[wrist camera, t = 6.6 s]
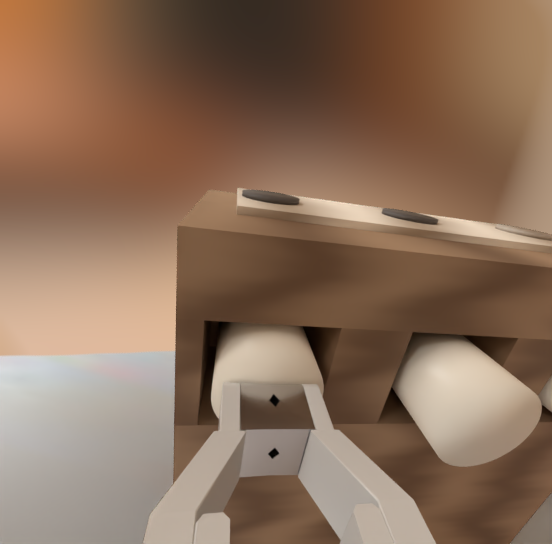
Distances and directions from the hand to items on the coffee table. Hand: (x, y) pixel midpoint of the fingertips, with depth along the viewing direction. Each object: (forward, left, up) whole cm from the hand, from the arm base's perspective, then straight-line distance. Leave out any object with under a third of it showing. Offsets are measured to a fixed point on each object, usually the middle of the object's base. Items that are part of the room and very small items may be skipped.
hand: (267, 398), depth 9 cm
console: (+7, +5, -15) cm, 17 cm away
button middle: (+7, +1, -2) cm, 7 cm away
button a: (0, +2, -2) cm, 3 cm away
